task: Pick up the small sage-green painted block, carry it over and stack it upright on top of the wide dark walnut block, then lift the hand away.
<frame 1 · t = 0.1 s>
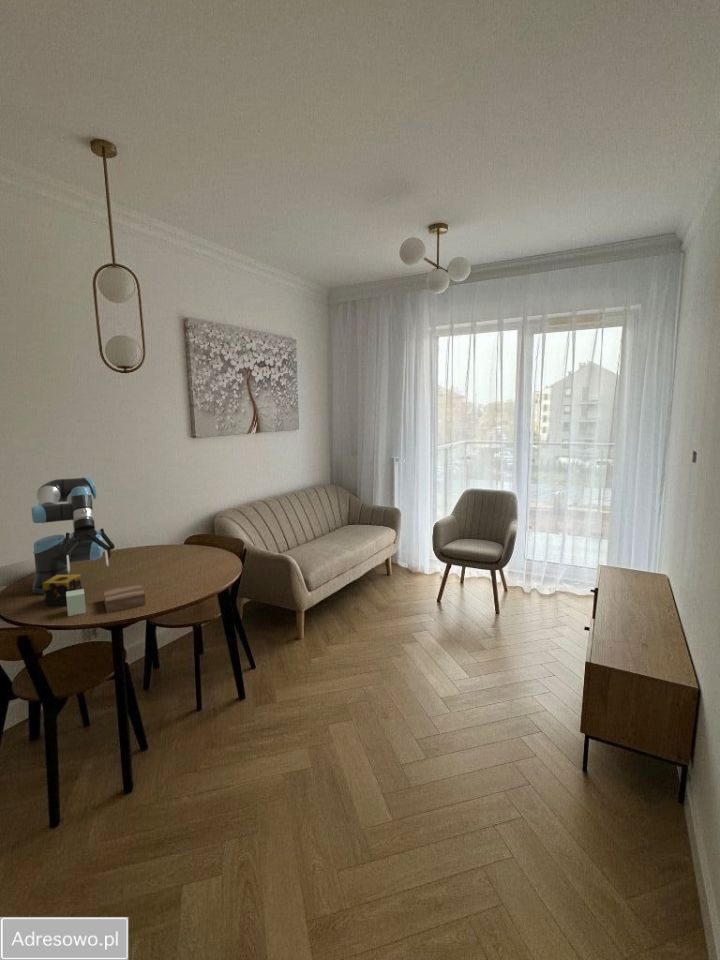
hand: (88, 568, 188), 15 cm above the table, tool tilted 35°, fingers open, 13 cm apart
walnut block: (124, 603, 192), on the table
sage block: (76, 611, 183), on the table
candle: (64, 601, 193), on the table
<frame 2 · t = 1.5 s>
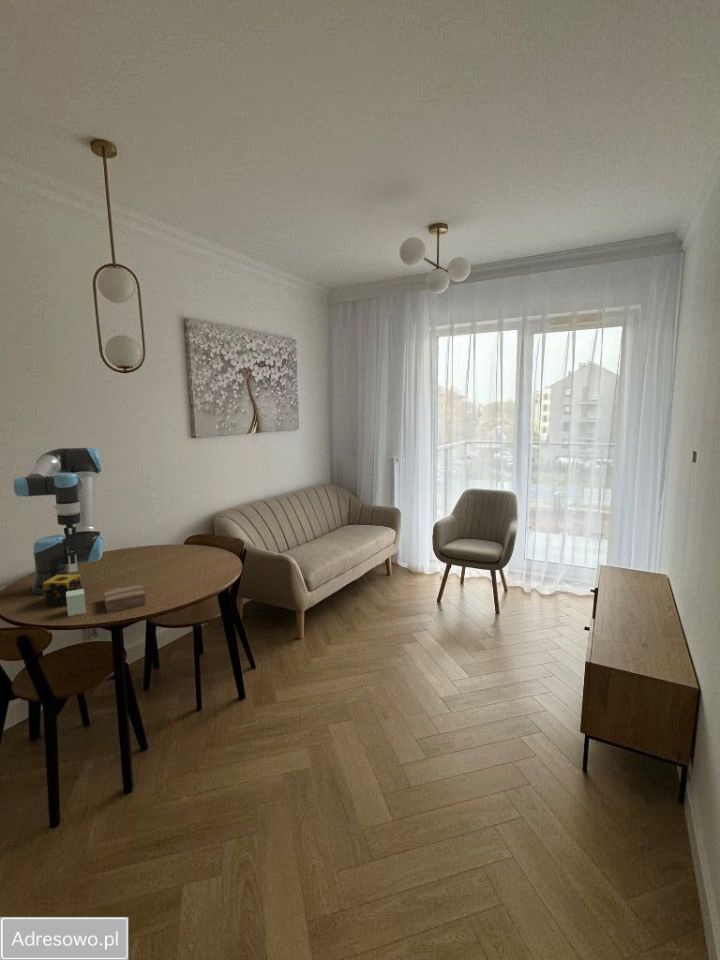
hand: (73, 566, 180), 19 cm above the table, tool pointing down, fingers open, 13 cm apart
nothing on the table moved.
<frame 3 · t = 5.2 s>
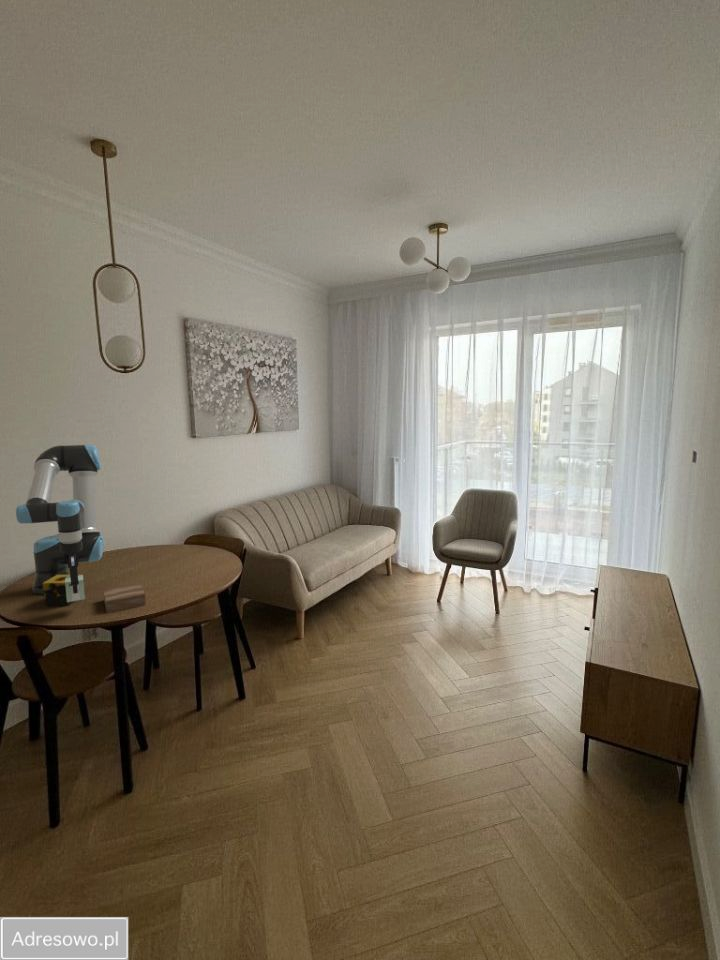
hand: (75, 597, 182), 6 cm above the table, tool pointing down, fingers closed on sage block, 6 cm apart
sage block: (75, 597, 182), point 6 cm above the table, touching gripper
everything else where it was.
when the fingers open (6 cm above the table, at t = 10.5 s): sage block stays where it is, resting on walnut block.
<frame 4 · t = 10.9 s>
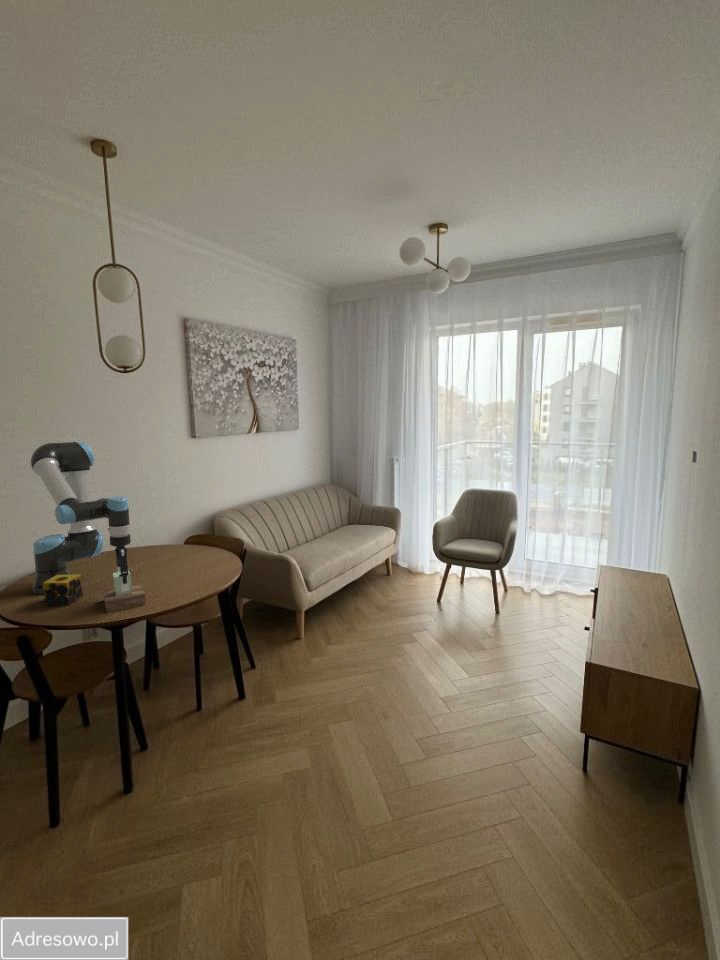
hand: (123, 585, 191), 7 cm above the table, tool pointing down, fingers open, 11 cm apart
walnut block: (124, 603, 192), on the table, touching sage block
sage block: (123, 592, 191), point 5 cm above the table, touching walnut block
everything else where it was.
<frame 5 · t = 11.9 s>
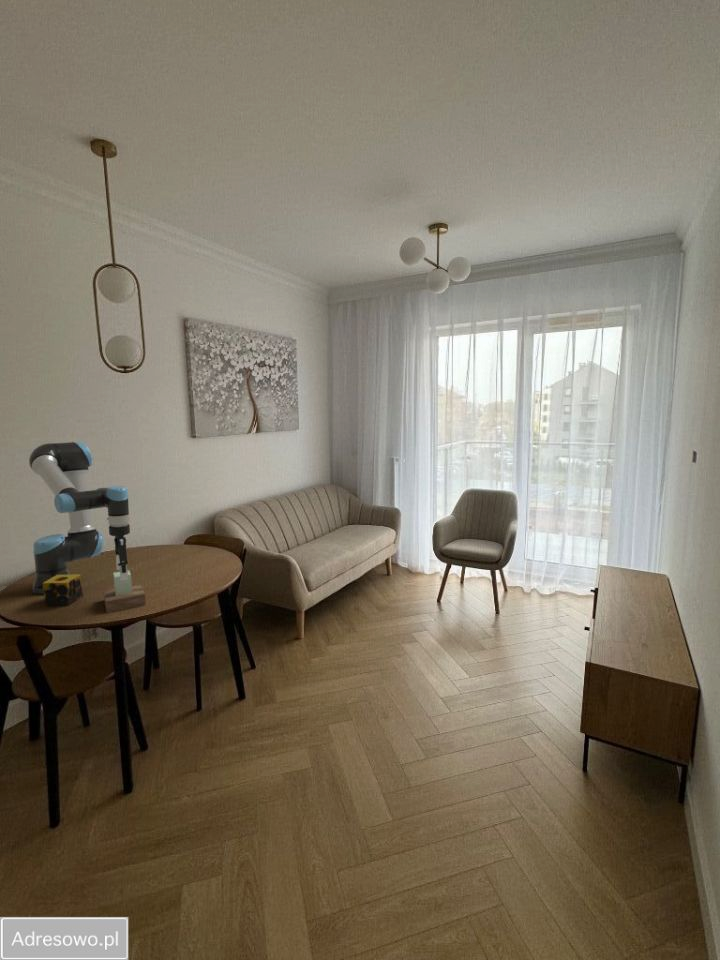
hand: (122, 574, 190), 12 cm above the table, tool pointing down, fingers open, 13 cm apart
walnut block: (124, 603, 192), on the table
sage block: (123, 592, 191), point 5 cm above the table
everything else where it was.
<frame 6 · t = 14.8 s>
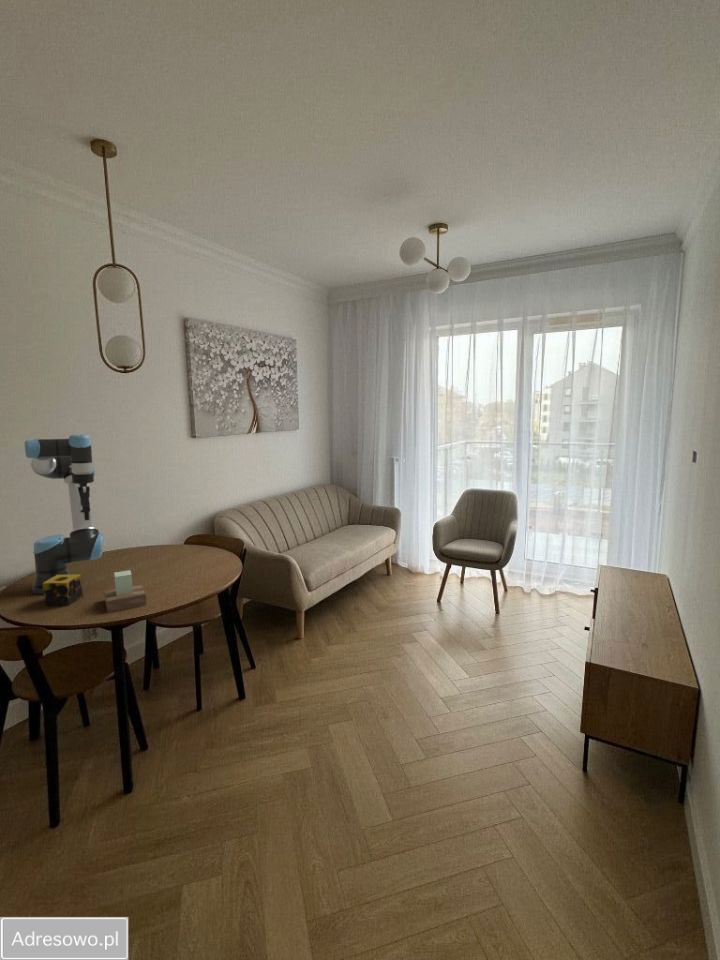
hand: (86, 524, 189), 33 cm above the table, tool pointing down, fingers open, 13 cm apart
walnut block: (125, 603, 192), on the table, touching sage block
sage block: (124, 591, 191), point 5 cm above the table, touching walnut block
everything else where it was.
at the end: sage block inside the target area on the walnut block (0.2 cm from its centre), point 5.0 cm above the walnut block's base; sage block tilted 0°; the gripper is holding nothing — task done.
